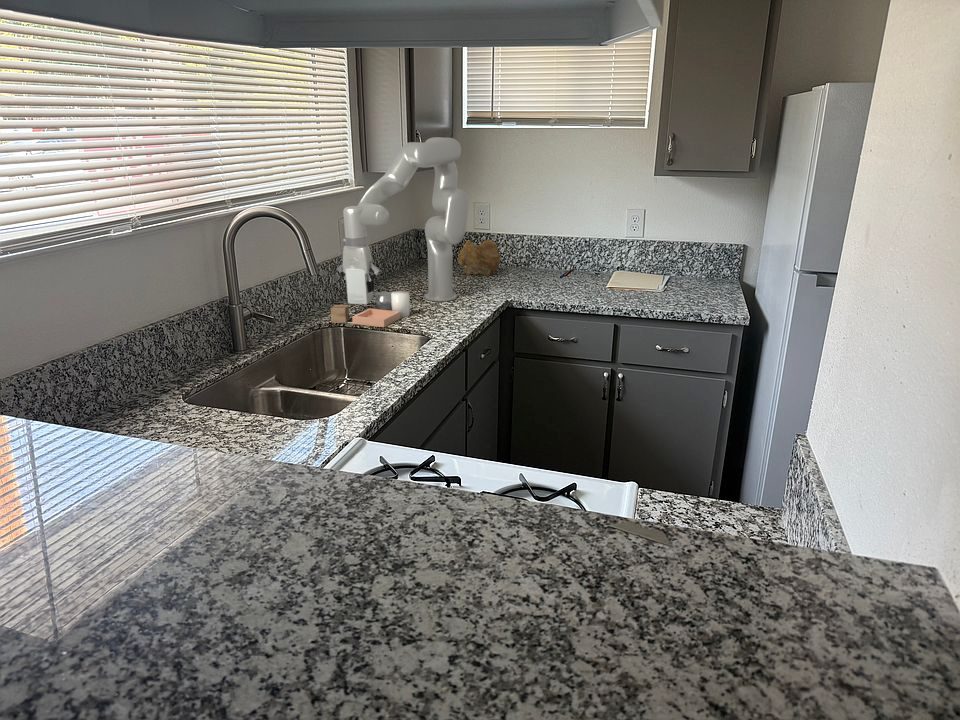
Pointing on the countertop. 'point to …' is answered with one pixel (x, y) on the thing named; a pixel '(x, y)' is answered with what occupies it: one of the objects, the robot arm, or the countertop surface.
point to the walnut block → (340, 313)
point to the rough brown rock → (479, 258)
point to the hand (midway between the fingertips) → (360, 290)
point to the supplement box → (357, 287)
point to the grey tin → (383, 301)
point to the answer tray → (376, 317)
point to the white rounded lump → (401, 302)
